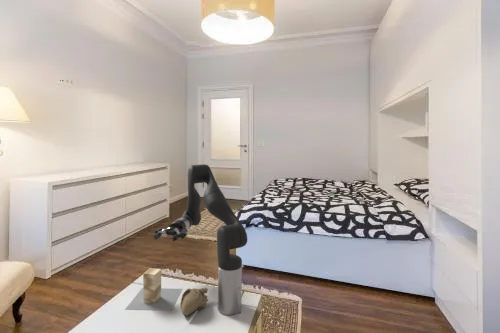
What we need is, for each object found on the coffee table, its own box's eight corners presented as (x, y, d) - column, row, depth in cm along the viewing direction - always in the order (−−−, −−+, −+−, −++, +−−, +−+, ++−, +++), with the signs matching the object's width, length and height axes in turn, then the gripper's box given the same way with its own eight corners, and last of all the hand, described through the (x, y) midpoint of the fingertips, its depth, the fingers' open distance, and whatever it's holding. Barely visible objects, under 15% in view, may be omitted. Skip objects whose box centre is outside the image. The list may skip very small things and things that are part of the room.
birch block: (161, 297, 110) (161, 269, 109) (154, 303, 105) (154, 274, 105) (150, 295, 111) (150, 268, 110) (143, 302, 106) (143, 273, 105)
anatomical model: (199, 298, 95) (212, 283, 110) (171, 297, 97) (188, 282, 112) (199, 319, 95) (213, 301, 109) (172, 318, 97) (189, 300, 112)
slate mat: (182, 289, 117) (182, 288, 117) (171, 311, 101) (171, 310, 101) (142, 289, 117) (142, 288, 117) (124, 310, 101) (124, 309, 101)
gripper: (166, 218, 134) (149, 228, 118) (193, 220, 132) (179, 231, 116) (166, 232, 134) (149, 245, 118) (192, 235, 132) (179, 248, 116)
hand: (164, 238), depth 117 cm, fingers open, 8 cm apart
